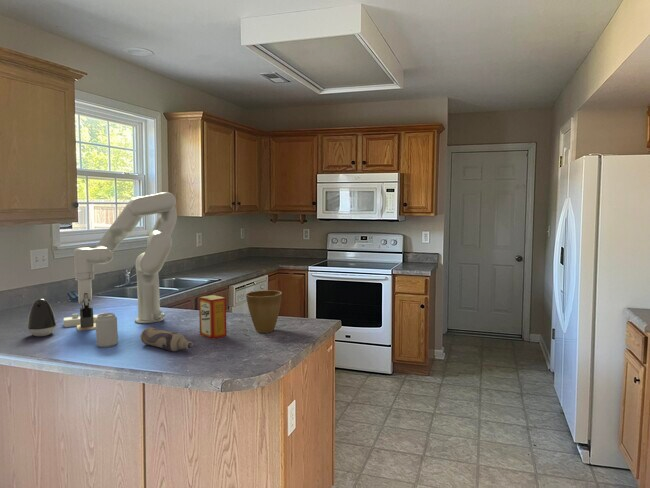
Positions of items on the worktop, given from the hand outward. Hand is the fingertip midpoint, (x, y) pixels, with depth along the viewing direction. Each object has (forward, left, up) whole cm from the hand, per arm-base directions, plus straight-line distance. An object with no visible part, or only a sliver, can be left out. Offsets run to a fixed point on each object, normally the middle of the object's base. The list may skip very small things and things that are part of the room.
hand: (86, 315), depth 216 cm
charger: (0, 0, -5) cm, 5 cm away
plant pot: (-74, -27, -6) cm, 79 cm away
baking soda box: (-59, -12, -6) cm, 60 cm away
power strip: (+7, -5, -6) cm, 11 cm away
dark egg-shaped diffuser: (+7, +16, -6) cm, 18 cm away
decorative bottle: (-55, +10, -6) cm, 57 cm away
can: (-31, +16, -6) cm, 35 cm away
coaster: (0, 0, -6) cm, 6 cm away
